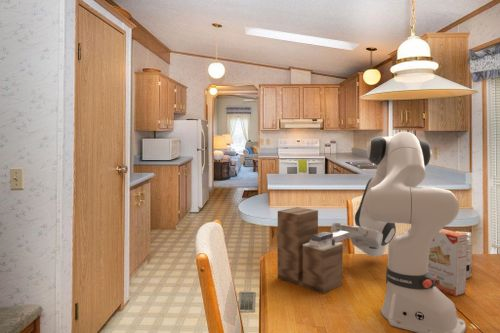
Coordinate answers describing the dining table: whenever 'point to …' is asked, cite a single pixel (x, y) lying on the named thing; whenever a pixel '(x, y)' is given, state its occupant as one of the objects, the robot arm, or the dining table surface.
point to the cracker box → (449, 261)
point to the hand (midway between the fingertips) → (346, 226)
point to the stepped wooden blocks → (307, 252)
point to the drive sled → (327, 238)
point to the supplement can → (468, 258)
